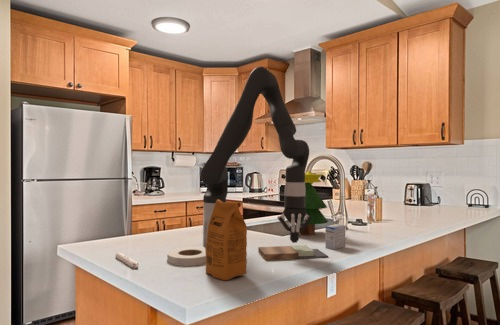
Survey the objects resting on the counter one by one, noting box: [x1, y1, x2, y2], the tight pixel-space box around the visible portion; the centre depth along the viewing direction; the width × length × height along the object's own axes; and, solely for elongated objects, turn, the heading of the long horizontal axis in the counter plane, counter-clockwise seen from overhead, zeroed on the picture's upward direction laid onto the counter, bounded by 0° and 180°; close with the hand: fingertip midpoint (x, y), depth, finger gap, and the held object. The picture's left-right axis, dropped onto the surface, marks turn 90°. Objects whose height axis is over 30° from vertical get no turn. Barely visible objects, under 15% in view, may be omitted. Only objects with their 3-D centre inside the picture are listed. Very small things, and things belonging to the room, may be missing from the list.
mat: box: [295, 248, 329, 260], centre depth 132 cm, size 12×11×1 cm
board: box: [257, 245, 298, 261], centre depth 130 cm, size 12×11×2 cm
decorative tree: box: [286, 170, 329, 236], centre depth 170 cm, size 19×19×30 cm
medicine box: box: [324, 223, 347, 250], centre depth 143 cm, size 8×4×9 cm, turn 135°
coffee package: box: [205, 199, 248, 281], centre depth 107 cm, size 10×12×22 cm
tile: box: [289, 244, 314, 256], centre depth 132 cm, size 6×9×2 cm, turn 10°
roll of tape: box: [167, 246, 206, 267], centre depth 124 cm, size 16×15×3 cm
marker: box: [115, 252, 139, 269], centre depth 119 cm, size 18×2×2 cm, turn 38°
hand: (294, 242), depth 131 cm, fingers closed
